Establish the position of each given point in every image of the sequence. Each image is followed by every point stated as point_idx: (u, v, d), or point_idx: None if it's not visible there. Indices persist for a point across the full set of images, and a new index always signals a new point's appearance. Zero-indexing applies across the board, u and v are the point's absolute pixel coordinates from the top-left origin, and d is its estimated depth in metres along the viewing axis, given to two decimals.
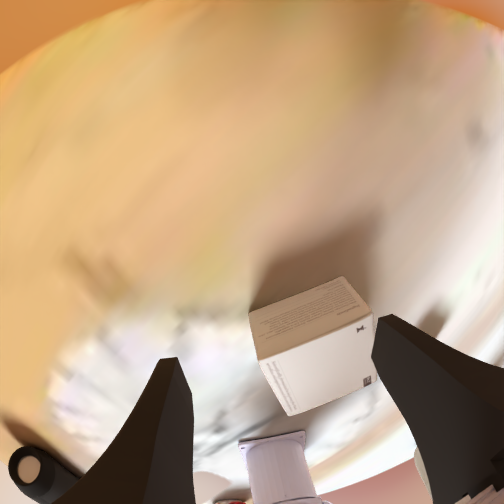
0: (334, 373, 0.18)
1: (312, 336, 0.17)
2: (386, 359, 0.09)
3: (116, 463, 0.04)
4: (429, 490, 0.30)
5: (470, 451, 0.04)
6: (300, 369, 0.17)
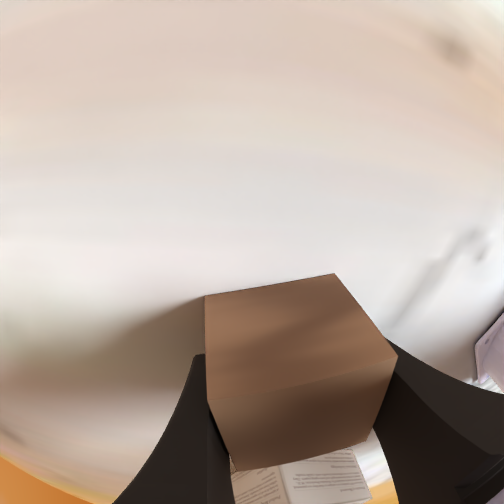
0: None
1: None
2: None
3: (168, 465, 0.04)
4: None
5: (435, 474, 0.04)
6: None
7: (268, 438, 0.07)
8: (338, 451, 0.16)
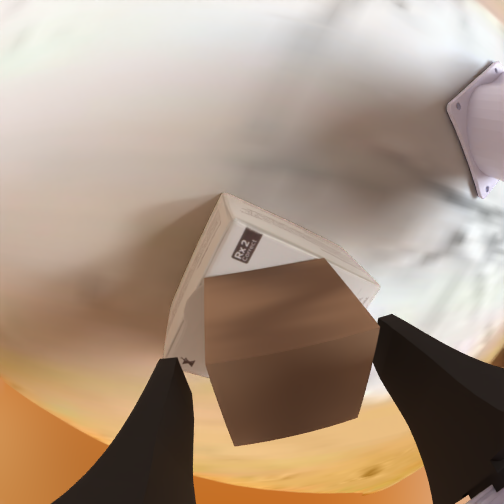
0: None
1: None
2: (386, 359, 0.09)
3: (116, 463, 0.04)
4: None
5: (470, 451, 0.04)
6: None
7: (262, 408, 0.08)
8: (318, 235, 0.16)
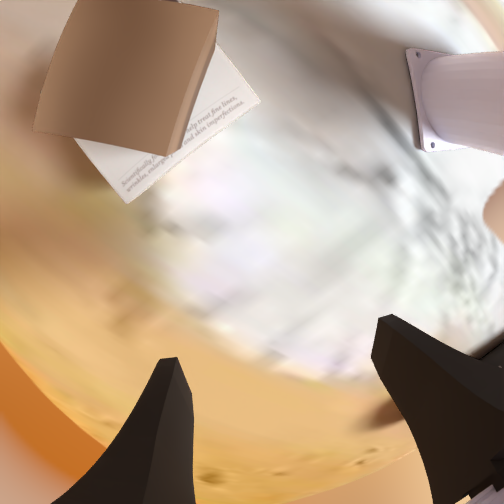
0: None
1: (81, 147, 0.11)
2: (386, 359, 0.09)
3: (116, 464, 0.04)
4: None
5: (470, 451, 0.04)
6: None
7: (82, 61, 0.06)
8: None
